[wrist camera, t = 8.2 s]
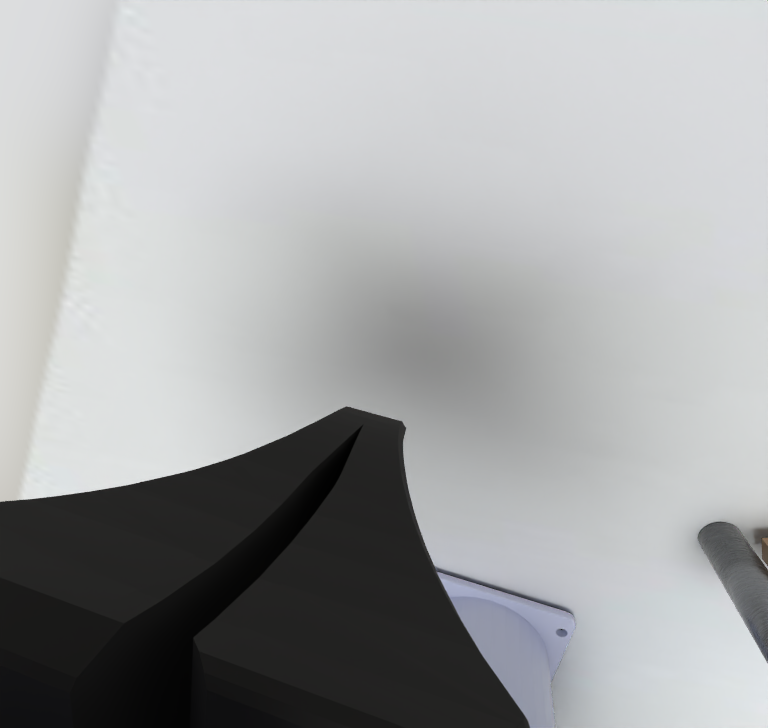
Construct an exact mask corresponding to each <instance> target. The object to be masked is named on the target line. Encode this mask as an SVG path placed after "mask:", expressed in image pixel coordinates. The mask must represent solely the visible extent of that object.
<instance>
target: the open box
mask: <svg viewBox="0 0 768 728" xmlns="http://www.w3.org/2000/svg"><path fill="white" fill-rule="evenodd" d="M762 559H763V560H764V562H765V563H766V564H767V566H768V538H762Z"/></svg>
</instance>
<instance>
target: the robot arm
mask: <svg viewBox="0 0 768 728" xmlns="http://www.w3.org/2000/svg"><path fill="white" fill-rule="evenodd" d="M405 430H406V427H405V426H404V424H403V422H402V421H398V420H394V419H391V418H387V417H383V416H380V415H376V414H372V413H369V412H365V411H362V410H358V409H354V408H351V407H344V408H342V409H340V410H338V411H336V412H334V413H332V414H330V415H328V416H326V417H324V418H322V419H320V420H318V421H317V422H315V423H313V424H310V425H308V426H306V427H304V428H302V429H300V430H298V431H296V432H294V433H292V434H290V435H288V436H286V437H283V438H281V439H278V440H276V441H274V442H271V443H269V444H266V445H264V446H262V447H259V448H257V449H254V450H252V451H250V452H247V453H245V454H242V455H239V456H236V457H233V458H231V459H228V460H225V461H222V462H218V463H215V464H212V465H209V466H205V467H202V468H199V469H195V470H192V471H188V472H184V473H180V474H175V475H171V476H167V477H162V478H158V479H153V480H149V481H145V482H140V483H136V484H131V485H126V486H121V487H115V488H109V489H103V490H97V491H91V492H84V493H77V494H70V495H62V496H55V497H47V498H38V499H28V500H17V501H5V502H0V728H556V727H555V718H554V708H553V699H552V689H551V681H552V679H553V677H554V675H555V672H556V670H557V668H558V666H559V664H560V661H561V659H562V657H563V655H564V652H565V650H566V648H567V646H568V644H569V641H570V639H571V637H572V635H573V633H574V630H575V628H576V622H575V618H574V616H573V615H572V614H570V613H568V612H566V611H563V610H559V609H556V608H553V607H550V606H546V605H543V604H540V603H537V602H533V601H530V600H527V599H524V598H520V597H517V596H514V595H511V594H508V593H504V592H501V591H498V590H495V589H491V588H488V587H485V586H482V585H478V584H475V583H472V582H469V581H465V580H462V579H459V578H456V577H452V576H449V575H446V574H443V573H440V572H436V570H435V567H434V565H433V563H432V560H431V558H430V555H429V553H428V551H427V548H426V546H425V543H424V540H423V538H422V535H421V532H420V529H419V526H418V523H417V520H416V517H415V513H414V510H413V506H412V502H411V498H410V494H409V490H408V485H407V480H406V473H405V467H404V458H403V439H404V435H405ZM558 629H564V630H558Z"/></svg>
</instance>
